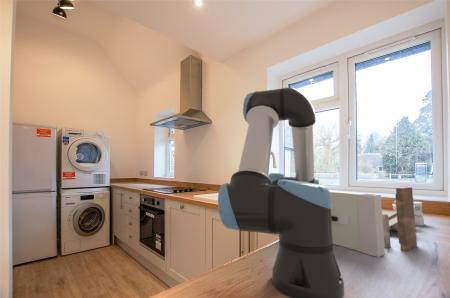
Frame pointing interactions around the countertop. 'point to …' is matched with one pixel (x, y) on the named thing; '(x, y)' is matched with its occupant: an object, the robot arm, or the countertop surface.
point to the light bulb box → (418, 213)
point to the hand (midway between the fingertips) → (351, 219)
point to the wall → (393, 221)
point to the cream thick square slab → (358, 222)
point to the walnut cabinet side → (402, 220)
